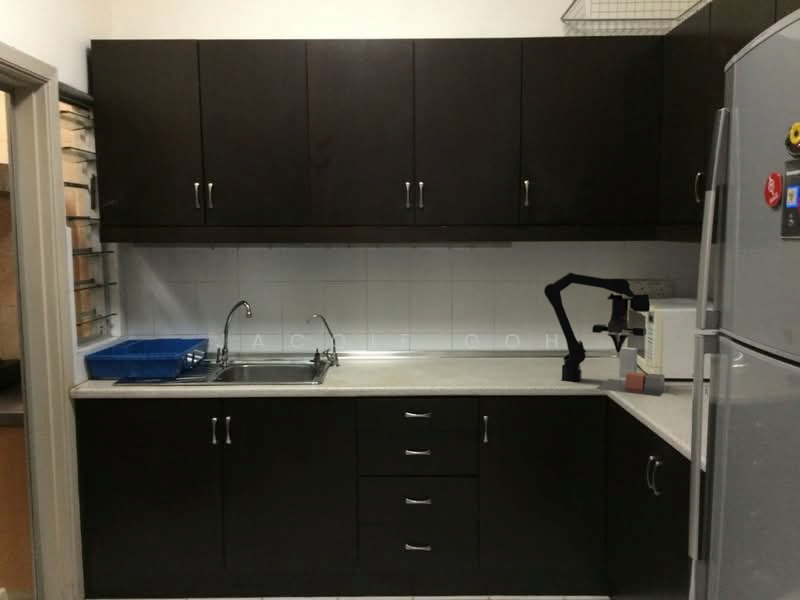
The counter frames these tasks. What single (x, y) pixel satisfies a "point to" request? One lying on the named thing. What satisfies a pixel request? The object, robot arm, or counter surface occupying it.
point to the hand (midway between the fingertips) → (618, 352)
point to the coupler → (650, 387)
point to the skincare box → (627, 361)
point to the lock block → (635, 380)
